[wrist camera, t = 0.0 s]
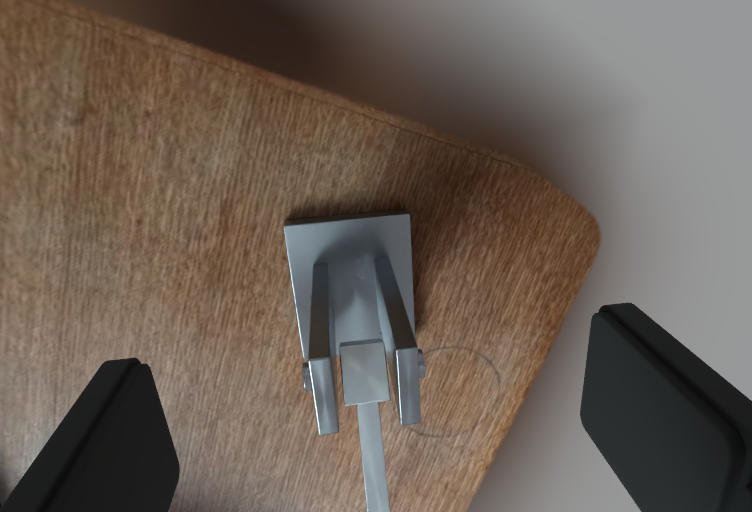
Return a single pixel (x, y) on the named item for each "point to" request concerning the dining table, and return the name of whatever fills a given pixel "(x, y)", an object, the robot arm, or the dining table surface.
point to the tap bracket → (355, 302)
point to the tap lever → (368, 411)
